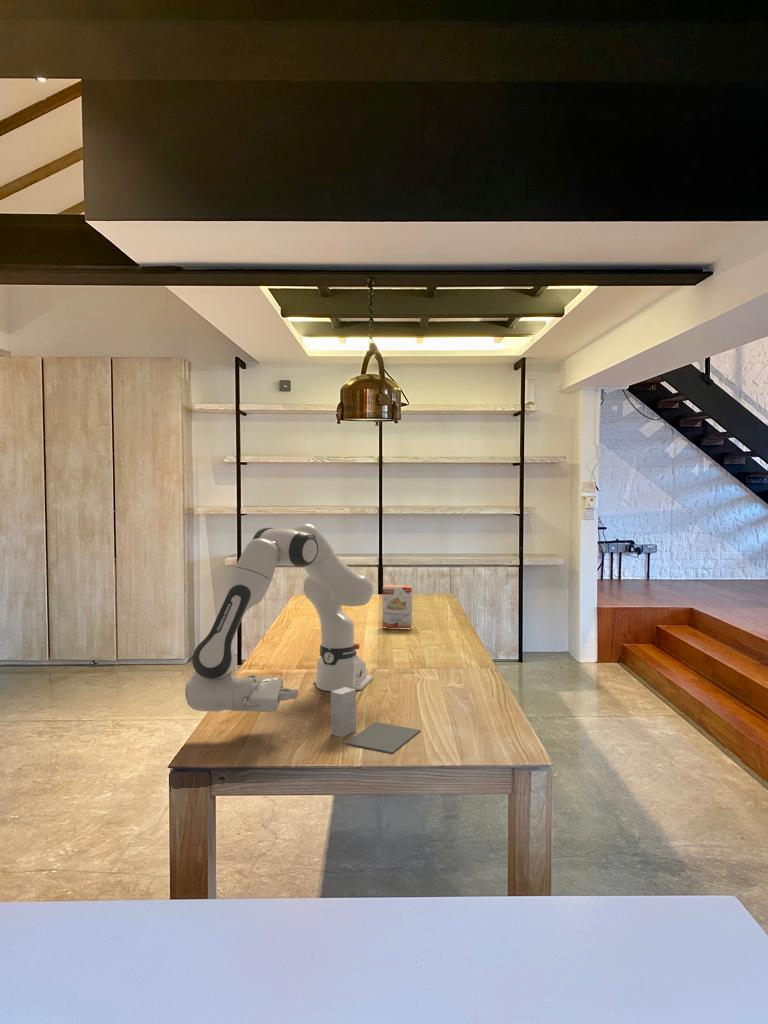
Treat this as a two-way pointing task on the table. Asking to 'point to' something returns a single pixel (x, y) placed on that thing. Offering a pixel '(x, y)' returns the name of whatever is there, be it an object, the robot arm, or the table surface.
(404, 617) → the cracker box
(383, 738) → the mat
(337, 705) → the skincare box
